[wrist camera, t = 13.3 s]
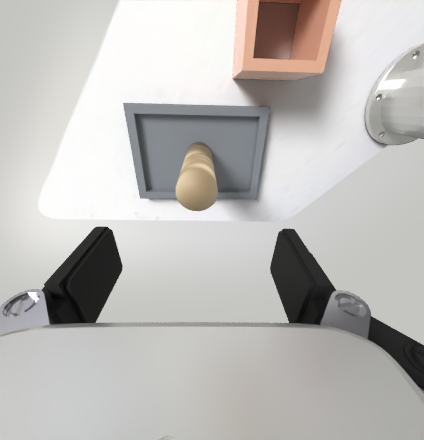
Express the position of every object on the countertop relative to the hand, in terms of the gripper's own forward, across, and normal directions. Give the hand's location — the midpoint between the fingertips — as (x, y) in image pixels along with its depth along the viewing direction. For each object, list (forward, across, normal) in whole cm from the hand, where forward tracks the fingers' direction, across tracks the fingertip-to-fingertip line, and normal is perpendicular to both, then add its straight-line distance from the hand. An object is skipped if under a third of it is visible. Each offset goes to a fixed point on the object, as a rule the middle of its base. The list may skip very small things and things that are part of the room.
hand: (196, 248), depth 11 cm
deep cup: (+24, -8, -14) cm, 29 cm away
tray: (+24, +1, 0) cm, 24 cm away
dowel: (+24, +1, 0) cm, 24 cm away
